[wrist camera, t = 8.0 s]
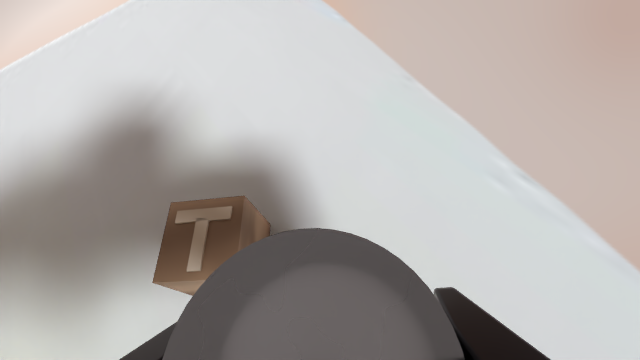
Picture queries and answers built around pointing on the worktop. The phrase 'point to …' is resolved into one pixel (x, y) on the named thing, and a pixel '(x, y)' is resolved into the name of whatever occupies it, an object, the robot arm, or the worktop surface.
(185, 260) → the letter cube
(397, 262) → the tin
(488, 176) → the worktop surface
